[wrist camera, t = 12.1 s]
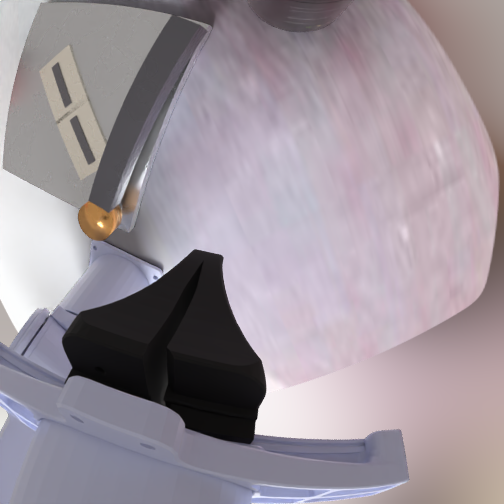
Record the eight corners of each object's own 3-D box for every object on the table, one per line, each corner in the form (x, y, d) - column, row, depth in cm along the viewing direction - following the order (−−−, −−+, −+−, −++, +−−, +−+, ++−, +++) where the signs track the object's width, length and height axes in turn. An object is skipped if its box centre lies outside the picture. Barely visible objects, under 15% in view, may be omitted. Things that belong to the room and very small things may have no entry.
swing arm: (116, 236, 21) (105, 247, 20) (86, 218, 21) (75, 228, 19) (216, 34, 13) (209, 28, 12) (174, 17, 12) (164, 11, 11)
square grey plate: (134, 226, 24) (122, 240, 22) (9, 164, 21) (-6, 172, 19) (212, 28, 15) (204, 20, 13) (48, 4, 12) (32, 1, 10)
